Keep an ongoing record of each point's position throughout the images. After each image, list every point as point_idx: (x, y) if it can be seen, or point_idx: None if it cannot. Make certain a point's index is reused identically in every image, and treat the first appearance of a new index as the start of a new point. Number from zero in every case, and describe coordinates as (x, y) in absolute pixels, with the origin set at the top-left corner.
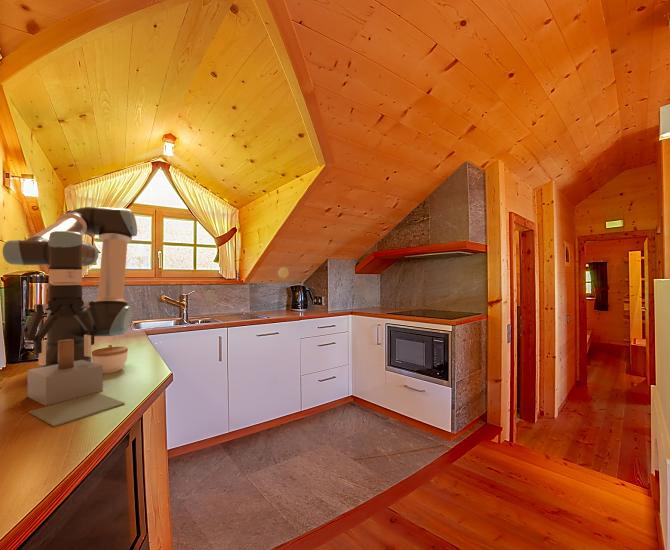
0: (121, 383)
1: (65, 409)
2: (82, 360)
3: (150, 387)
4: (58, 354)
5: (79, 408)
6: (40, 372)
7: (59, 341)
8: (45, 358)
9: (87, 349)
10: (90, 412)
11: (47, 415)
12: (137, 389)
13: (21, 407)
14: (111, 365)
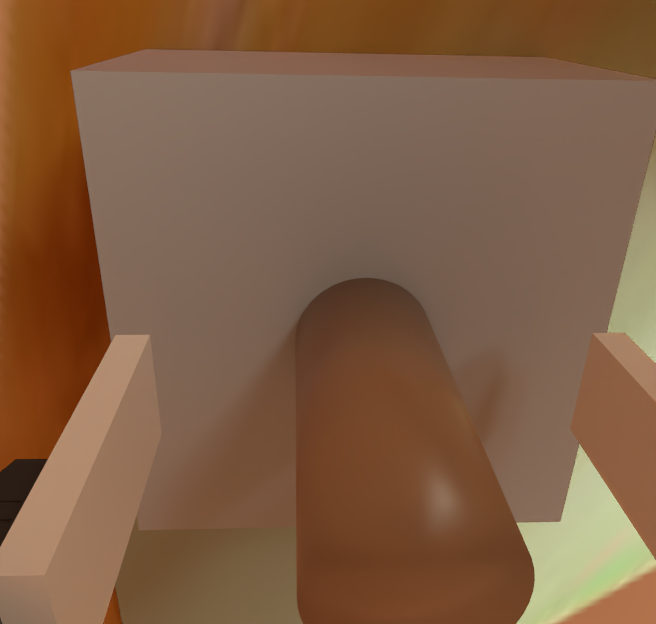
0: (648, 342)
1: (219, 547)
2: (635, 138)
3: (639, 549)
4: (296, 445)
5: (265, 581)
6: (146, 330)
7: (303, 621)
8: (141, 488)
9: (617, 474)
10: None
11: (140, 557)
12: (588, 525)
13: (74, 292)
14: None
